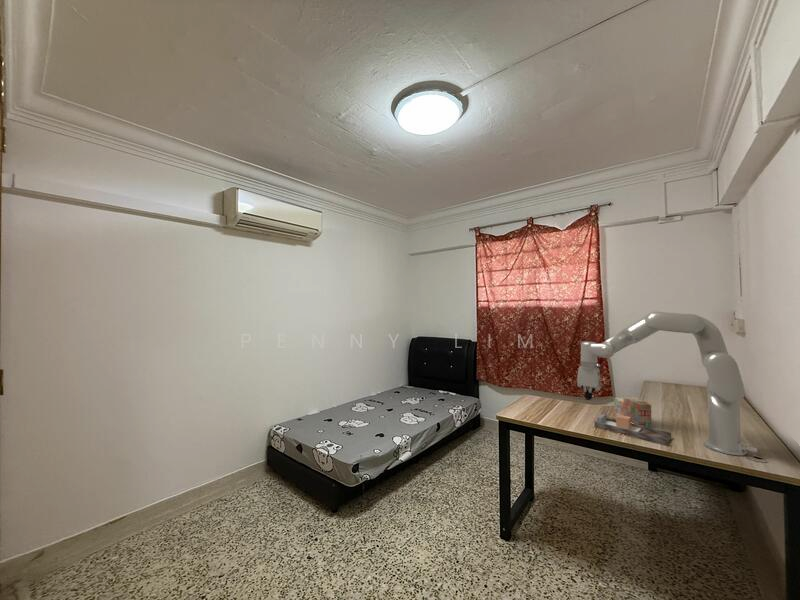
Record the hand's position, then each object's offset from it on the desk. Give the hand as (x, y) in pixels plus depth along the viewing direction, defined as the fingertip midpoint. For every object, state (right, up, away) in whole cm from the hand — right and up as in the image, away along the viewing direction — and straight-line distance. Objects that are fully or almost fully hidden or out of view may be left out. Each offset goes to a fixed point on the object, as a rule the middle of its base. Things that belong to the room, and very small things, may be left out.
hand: (588, 399), depth 164 cm
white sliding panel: (+9, -11, -10) cm, 17 cm away
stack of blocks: (+25, -13, +3) cm, 28 cm away
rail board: (+12, -12, -14) cm, 22 cm away
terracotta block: (+10, -10, -12) cm, 19 cm away
